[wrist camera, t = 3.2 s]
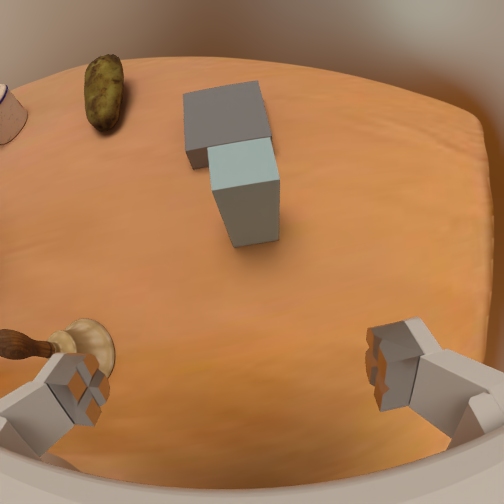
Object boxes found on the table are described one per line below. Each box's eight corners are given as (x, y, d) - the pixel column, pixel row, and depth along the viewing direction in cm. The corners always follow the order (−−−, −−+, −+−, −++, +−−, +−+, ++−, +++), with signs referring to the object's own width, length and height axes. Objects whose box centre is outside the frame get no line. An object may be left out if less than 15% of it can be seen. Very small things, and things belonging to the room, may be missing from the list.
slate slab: (272, 155, 39) (271, 135, 35) (193, 169, 39) (185, 151, 35) (259, 100, 42) (257, 80, 38) (189, 112, 42) (183, 93, 38)
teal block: (278, 240, 35) (279, 179, 23) (233, 247, 35) (211, 190, 23) (272, 207, 37) (270, 137, 24) (229, 214, 37) (207, 147, 24)
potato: (76, 138, 43) (51, 108, 35) (106, 82, 47) (89, 51, 39) (118, 137, 42) (95, 102, 34) (146, 78, 46) (132, 43, 38)
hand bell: (59, 380, 32) (-38, 380, 17) (62, 316, 34) (-33, 287, 19) (114, 392, 31) (18, 406, 16) (117, 321, 34) (23, 294, 19)
